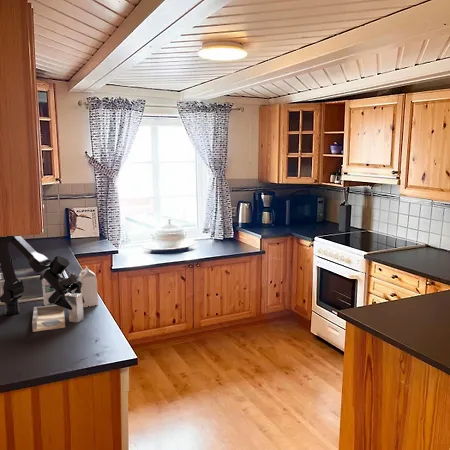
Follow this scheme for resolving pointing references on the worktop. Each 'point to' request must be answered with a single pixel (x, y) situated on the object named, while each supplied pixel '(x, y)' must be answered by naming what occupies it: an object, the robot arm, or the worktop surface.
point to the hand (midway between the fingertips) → (78, 306)
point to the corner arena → (48, 318)
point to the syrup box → (47, 292)
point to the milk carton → (88, 287)
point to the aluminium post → (75, 307)
